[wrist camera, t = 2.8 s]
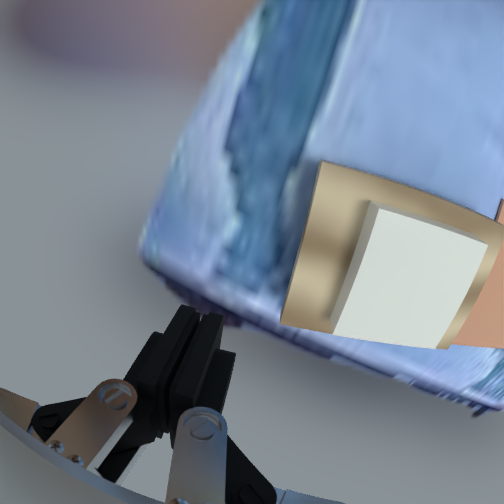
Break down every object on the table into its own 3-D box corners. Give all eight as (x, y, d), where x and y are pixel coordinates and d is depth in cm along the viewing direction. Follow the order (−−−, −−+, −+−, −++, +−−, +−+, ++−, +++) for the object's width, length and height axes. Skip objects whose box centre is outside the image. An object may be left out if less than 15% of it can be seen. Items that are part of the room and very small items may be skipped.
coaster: (370, 199, 16) (379, 208, 14) (474, 234, 16) (488, 245, 14) (330, 317, 20) (332, 334, 18) (427, 333, 20) (434, 349, 18)
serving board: (316, 156, 19) (322, 161, 16) (482, 212, 18) (507, 228, 15) (282, 295, 25) (279, 323, 21) (433, 323, 24) (447, 349, 20)
